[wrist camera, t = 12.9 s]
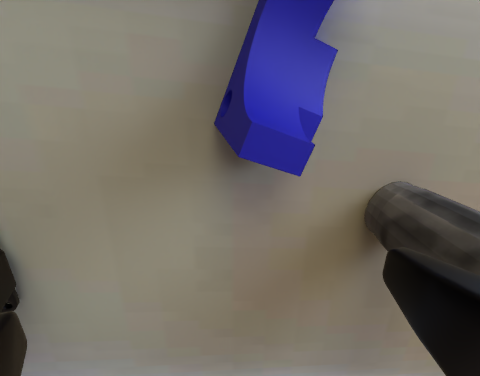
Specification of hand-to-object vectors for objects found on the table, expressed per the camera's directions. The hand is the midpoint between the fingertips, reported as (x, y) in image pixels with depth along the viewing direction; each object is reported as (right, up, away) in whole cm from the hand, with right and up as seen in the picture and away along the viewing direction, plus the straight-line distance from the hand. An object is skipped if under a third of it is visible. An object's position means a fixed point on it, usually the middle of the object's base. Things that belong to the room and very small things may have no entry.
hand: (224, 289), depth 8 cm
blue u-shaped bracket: (+3, +11, +10) cm, 15 cm away
